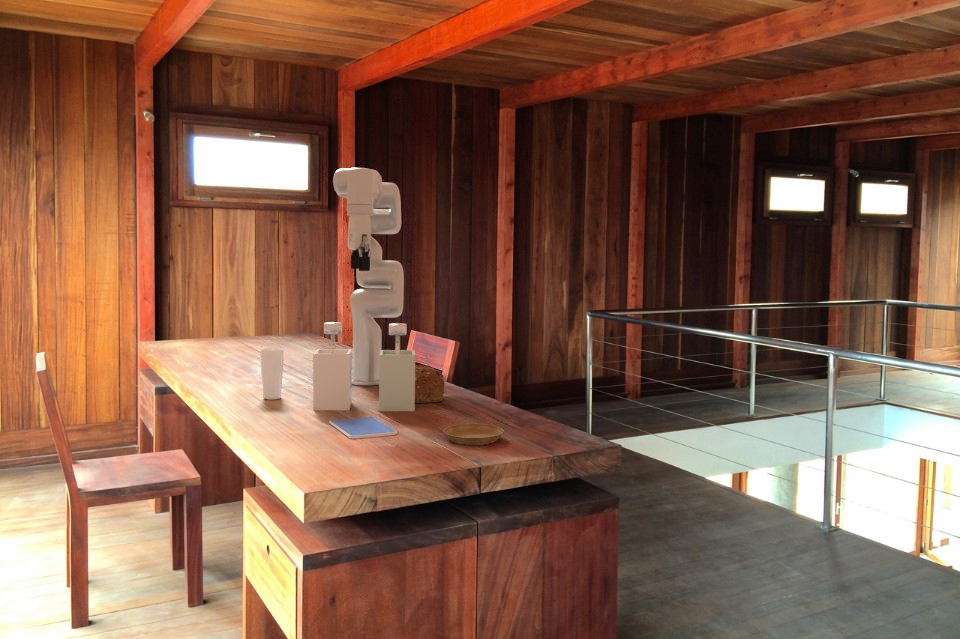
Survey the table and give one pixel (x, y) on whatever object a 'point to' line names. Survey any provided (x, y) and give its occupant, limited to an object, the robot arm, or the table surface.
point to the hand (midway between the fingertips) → (360, 269)
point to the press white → (332, 379)
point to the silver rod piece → (397, 334)
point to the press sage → (397, 380)
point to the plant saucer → (473, 433)
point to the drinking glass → (272, 372)
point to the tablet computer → (362, 428)
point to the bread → (428, 385)
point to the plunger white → (332, 332)
